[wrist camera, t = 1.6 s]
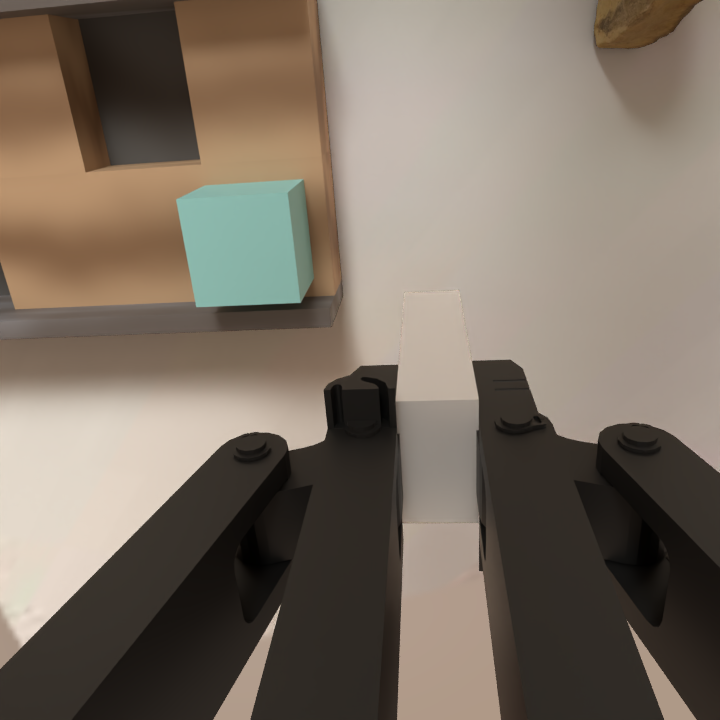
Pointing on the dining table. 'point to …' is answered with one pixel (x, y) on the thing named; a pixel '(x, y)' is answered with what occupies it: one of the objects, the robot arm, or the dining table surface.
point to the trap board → (151, 157)
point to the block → (247, 243)
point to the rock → (637, 21)
